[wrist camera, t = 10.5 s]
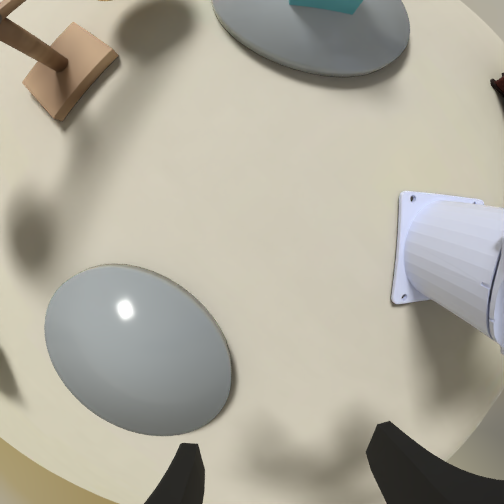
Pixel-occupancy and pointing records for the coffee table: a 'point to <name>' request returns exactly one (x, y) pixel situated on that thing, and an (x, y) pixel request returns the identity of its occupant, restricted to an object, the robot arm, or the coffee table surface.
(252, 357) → the coffee table surface
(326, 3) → the block
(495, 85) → the mate gourd
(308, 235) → the coffee table surface
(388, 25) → the dish low side
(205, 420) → the grey round disc
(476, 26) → the coffee table surface
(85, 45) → the balance
